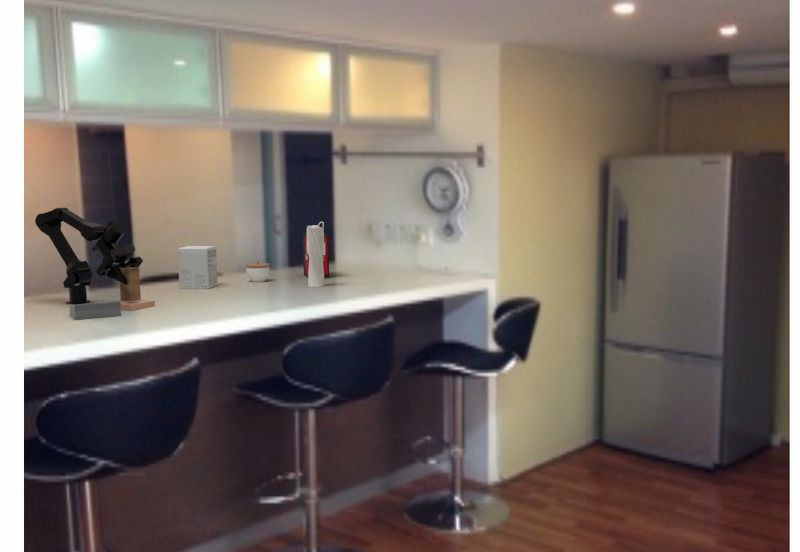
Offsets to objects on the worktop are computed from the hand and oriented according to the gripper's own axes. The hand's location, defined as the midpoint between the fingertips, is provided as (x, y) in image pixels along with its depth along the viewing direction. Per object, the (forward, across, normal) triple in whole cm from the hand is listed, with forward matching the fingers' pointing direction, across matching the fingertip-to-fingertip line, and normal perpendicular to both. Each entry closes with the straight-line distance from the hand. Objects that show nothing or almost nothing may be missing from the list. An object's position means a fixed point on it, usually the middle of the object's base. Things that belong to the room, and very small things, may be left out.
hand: (132, 282), depth 306 cm
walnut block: (+4, 0, +6) cm, 7 cm away
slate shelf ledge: (+6, -18, +7) cm, 20 cm away
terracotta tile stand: (+6, 0, +7) cm, 9 cm away
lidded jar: (+5, +80, +8) cm, 80 cm away
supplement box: (-4, +54, +17) cm, 57 cm away
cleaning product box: (+16, +104, -3) cm, 105 cm away
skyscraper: (+29, +76, -16) cm, 83 cm away
